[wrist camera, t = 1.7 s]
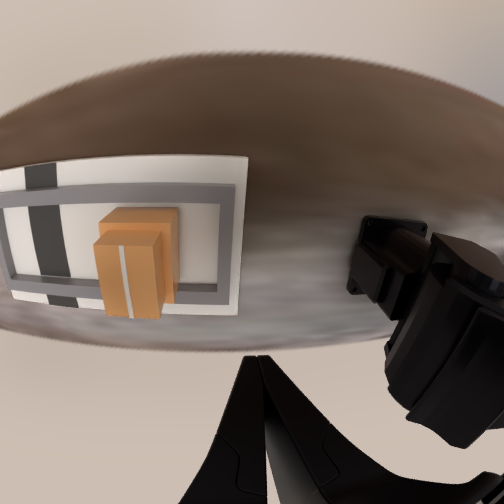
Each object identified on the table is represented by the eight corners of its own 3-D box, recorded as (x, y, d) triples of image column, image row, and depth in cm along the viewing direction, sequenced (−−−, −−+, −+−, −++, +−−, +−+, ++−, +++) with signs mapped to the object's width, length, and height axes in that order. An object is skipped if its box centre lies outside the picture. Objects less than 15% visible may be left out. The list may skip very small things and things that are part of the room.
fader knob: (178, 207, 16) (162, 238, 12) (179, 278, 18) (169, 326, 14) (116, 207, 16) (81, 237, 11) (123, 275, 18) (99, 321, 13)
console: (246, 156, 17) (250, 159, 15) (236, 305, 21) (238, 323, 19) (-3, 170, 14) (-20, 176, 12) (20, 291, 18) (8, 304, 16)
